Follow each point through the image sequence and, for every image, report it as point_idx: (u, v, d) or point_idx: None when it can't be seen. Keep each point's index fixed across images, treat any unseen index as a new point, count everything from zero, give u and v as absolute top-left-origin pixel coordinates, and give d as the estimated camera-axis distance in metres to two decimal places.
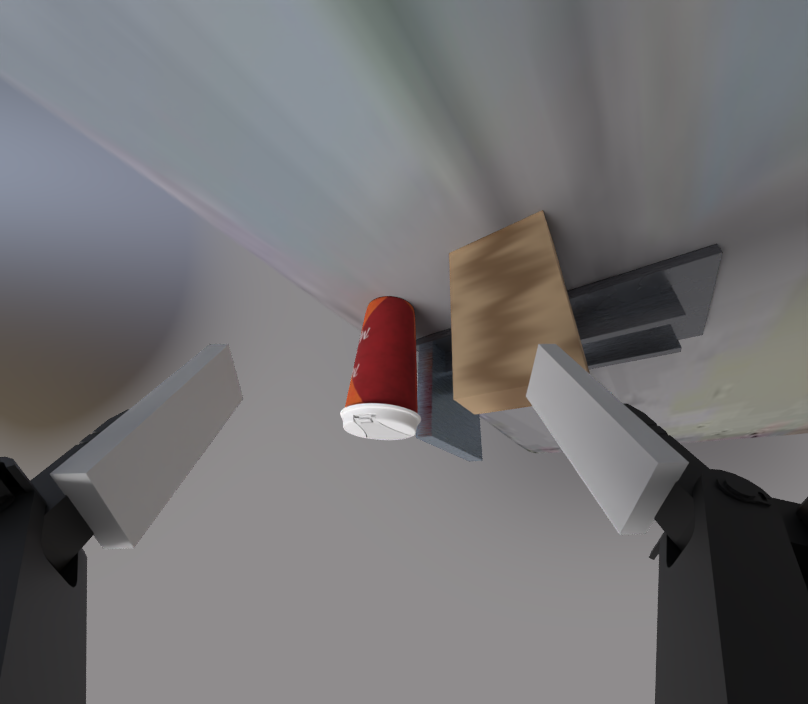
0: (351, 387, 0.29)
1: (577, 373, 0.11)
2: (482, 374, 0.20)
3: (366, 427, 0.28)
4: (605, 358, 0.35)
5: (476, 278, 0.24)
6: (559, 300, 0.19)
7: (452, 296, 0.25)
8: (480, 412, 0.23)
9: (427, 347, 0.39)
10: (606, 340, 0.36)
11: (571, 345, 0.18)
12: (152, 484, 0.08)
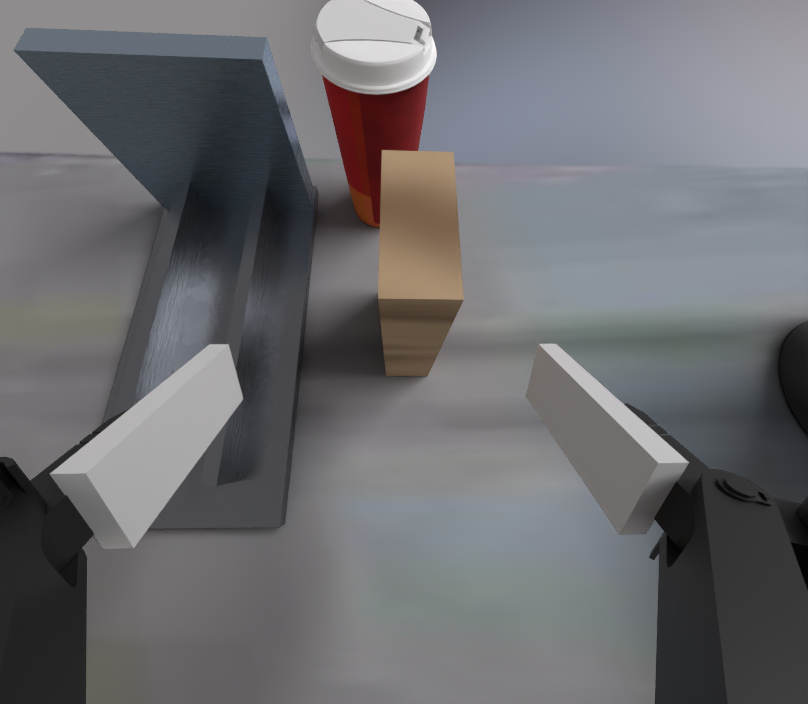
0: None
1: (577, 373, 0.11)
2: None
3: (398, 20, 0.18)
4: (142, 383, 0.21)
5: None
6: None
7: None
8: None
9: (312, 199, 0.29)
10: None
11: None
12: (152, 484, 0.08)
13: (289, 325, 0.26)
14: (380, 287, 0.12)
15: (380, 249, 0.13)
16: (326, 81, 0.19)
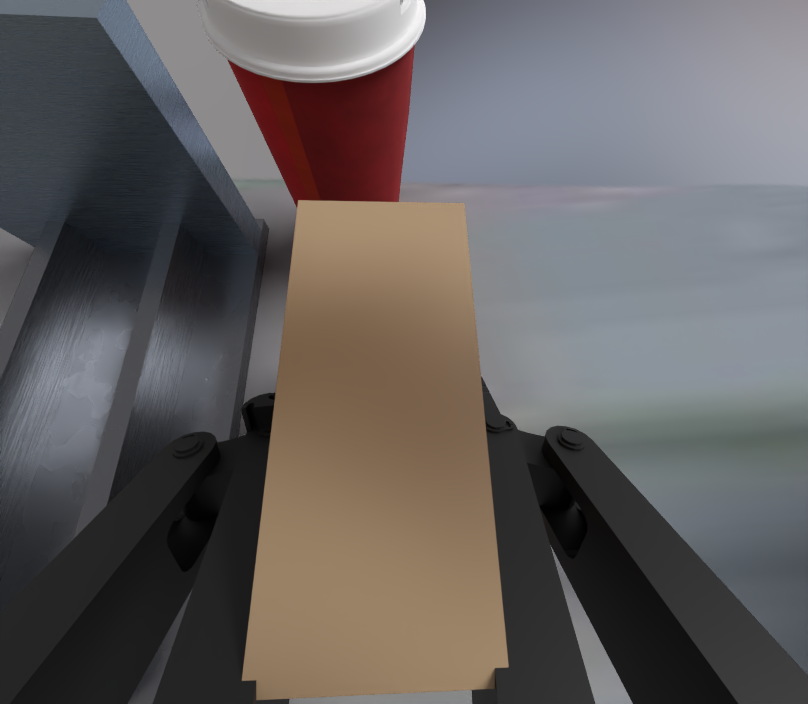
0: None
1: None
2: None
3: None
4: None
5: None
6: None
7: None
8: (297, 222, 0.06)
9: (254, 238, 0.20)
10: None
11: None
12: None
13: None
14: (251, 652, 0.04)
15: (267, 496, 0.05)
16: (229, 61, 0.11)
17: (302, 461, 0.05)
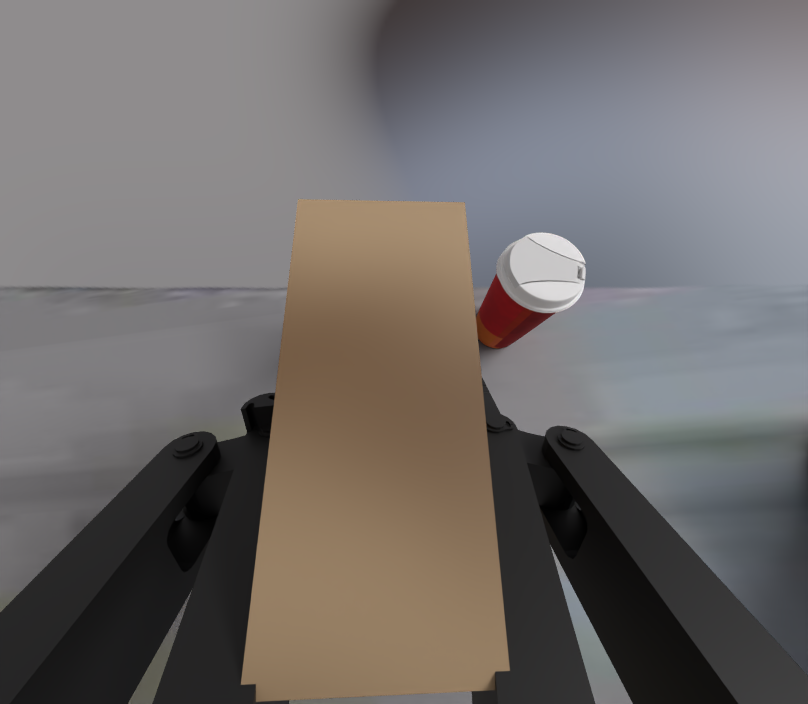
0: None
1: None
2: None
3: (564, 261, 0.26)
4: None
5: None
6: None
7: None
8: (296, 220, 0.06)
9: None
10: None
11: None
12: None
13: None
14: (250, 653, 0.04)
15: (266, 496, 0.05)
16: (507, 295, 0.27)
17: (302, 461, 0.05)
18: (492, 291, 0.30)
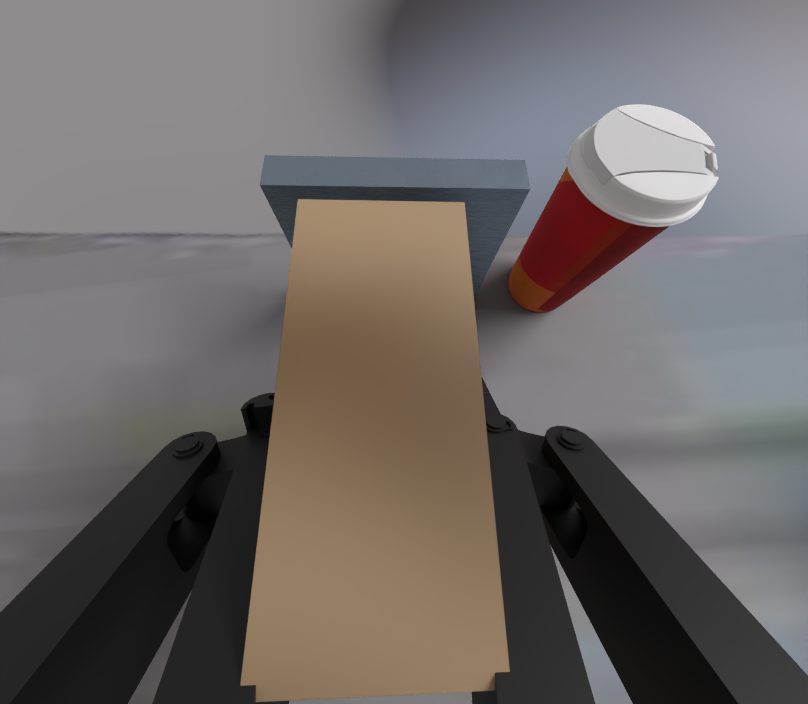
0: None
1: None
2: None
3: (681, 144, 0.16)
4: None
5: None
6: None
7: None
8: (296, 220, 0.06)
9: None
10: None
11: None
12: None
13: None
14: (250, 654, 0.04)
15: (266, 497, 0.05)
16: (584, 204, 0.17)
17: (301, 461, 0.05)
18: (551, 212, 0.20)
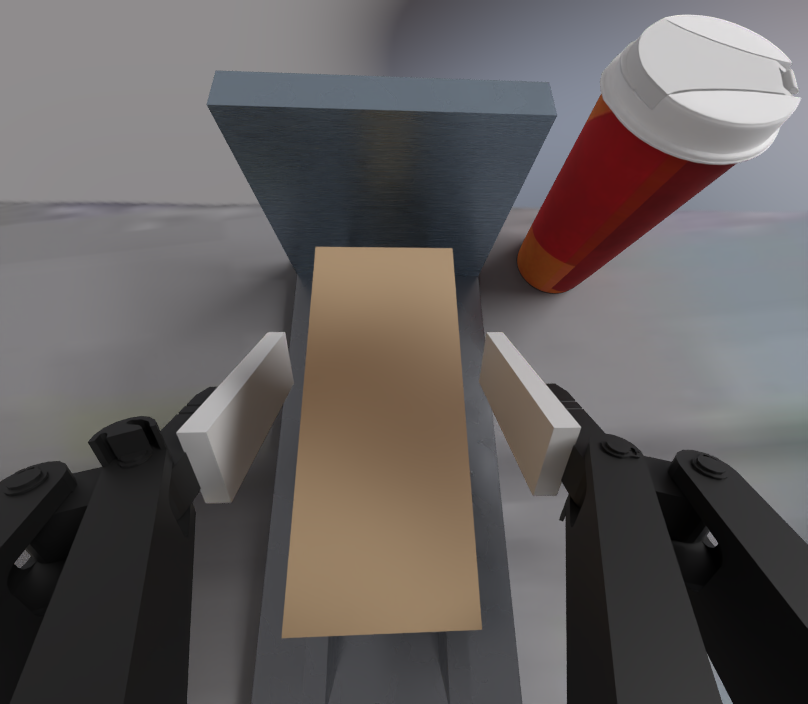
0: None
1: (512, 356, 0.12)
2: None
3: (749, 59, 0.13)
4: None
5: None
6: None
7: None
8: (314, 265, 0.08)
9: None
10: None
11: None
12: (241, 449, 0.10)
13: (479, 431, 0.20)
14: (289, 603, 0.05)
15: (297, 488, 0.06)
16: (623, 141, 0.14)
17: (323, 461, 0.06)
18: (575, 161, 0.16)
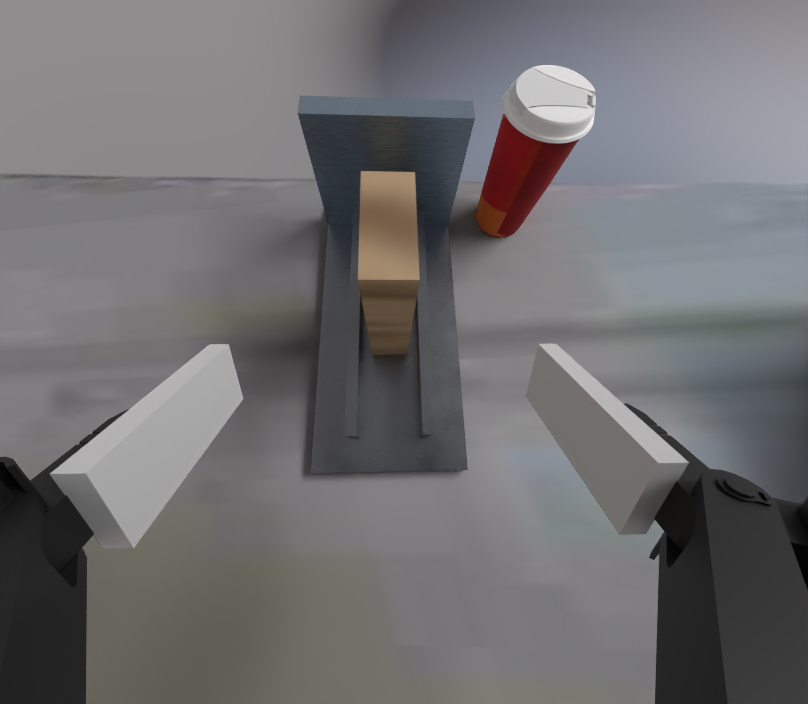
0: None
1: (577, 373, 0.11)
2: None
3: (573, 89, 0.25)
4: (358, 360, 0.28)
5: None
6: None
7: None
8: None
9: None
10: (361, 373, 0.30)
11: None
12: (152, 484, 0.08)
13: (445, 316, 0.32)
14: (359, 271, 0.17)
15: (359, 244, 0.18)
16: (513, 132, 0.26)
17: (368, 237, 0.18)
18: (496, 144, 0.28)
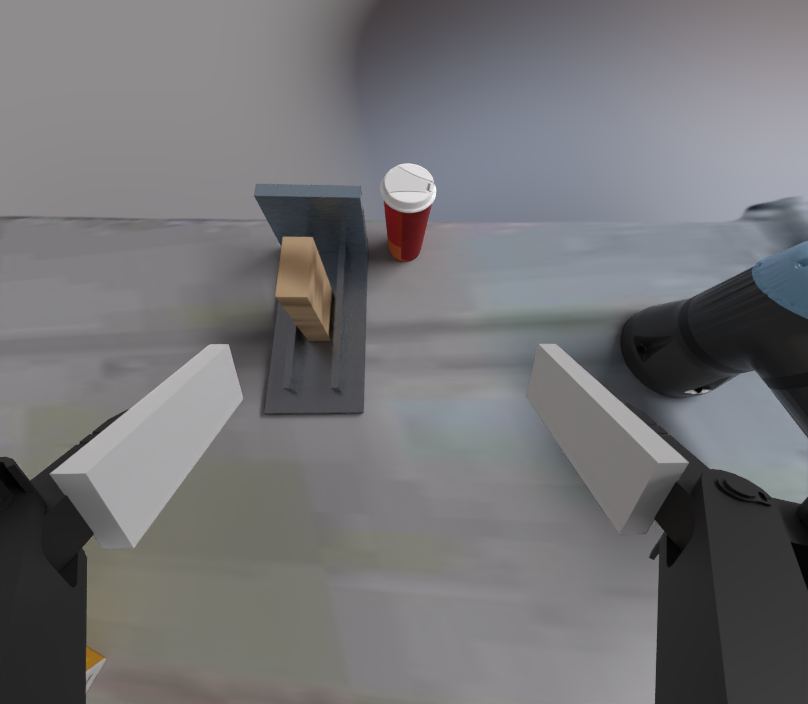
0: None
1: (577, 373, 0.11)
2: (314, 259, 0.37)
3: (419, 180, 0.41)
4: (295, 343, 0.44)
5: (327, 294, 0.45)
6: (318, 314, 0.39)
7: (327, 278, 0.45)
8: (282, 240, 0.36)
9: None
10: (299, 352, 0.46)
11: (311, 302, 0.36)
12: (152, 484, 0.08)
13: (359, 316, 0.49)
14: (276, 292, 0.34)
15: (277, 278, 0.34)
16: (386, 204, 0.42)
17: (282, 274, 0.35)
18: None
